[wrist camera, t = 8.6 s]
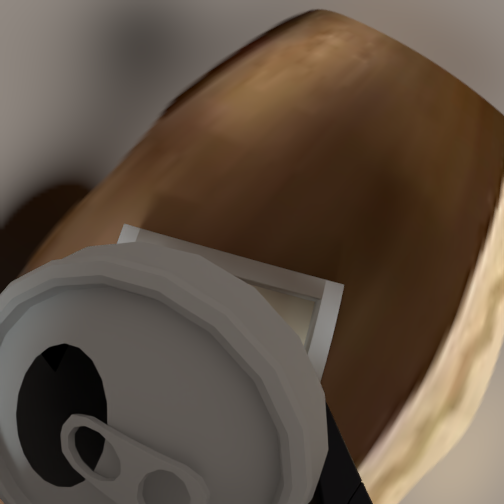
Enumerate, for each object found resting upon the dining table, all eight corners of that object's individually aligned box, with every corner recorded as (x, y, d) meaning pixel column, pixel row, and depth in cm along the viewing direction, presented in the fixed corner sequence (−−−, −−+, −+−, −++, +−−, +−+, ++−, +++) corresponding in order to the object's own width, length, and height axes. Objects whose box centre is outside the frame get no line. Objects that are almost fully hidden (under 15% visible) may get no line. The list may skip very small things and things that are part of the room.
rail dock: (276, 480, 15) (281, 496, 13) (85, 419, 15) (70, 427, 13) (332, 290, 18) (344, 284, 16) (135, 235, 18) (124, 223, 16)
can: (157, 276, 16) (12, 156, 4) (293, 331, 15) (435, 321, 4) (108, 402, 14) (-63, 473, 2) (239, 459, 14) (245, 640, 2)
